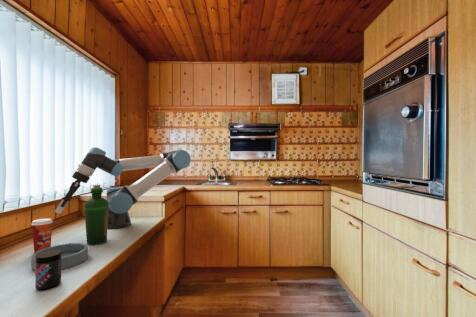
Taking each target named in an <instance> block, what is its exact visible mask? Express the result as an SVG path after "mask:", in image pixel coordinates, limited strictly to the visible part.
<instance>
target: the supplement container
mask: <svg viewBox="0 0 476 317" xmlns="http://www.w3.org/2000/svg"><path fill="white" fill-rule="evenodd" d="M34 273H35V278H34V279H35V280H34V281H35V290H37V291H38V290H39V292H43V291H49V290H53V289H55V288H57V287H59V286H60V285H61V283H62V270H61V251H60V250H50V251H45V252H42V253H39V254H37V255H36V256H35V271H34Z"/></svg>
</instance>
